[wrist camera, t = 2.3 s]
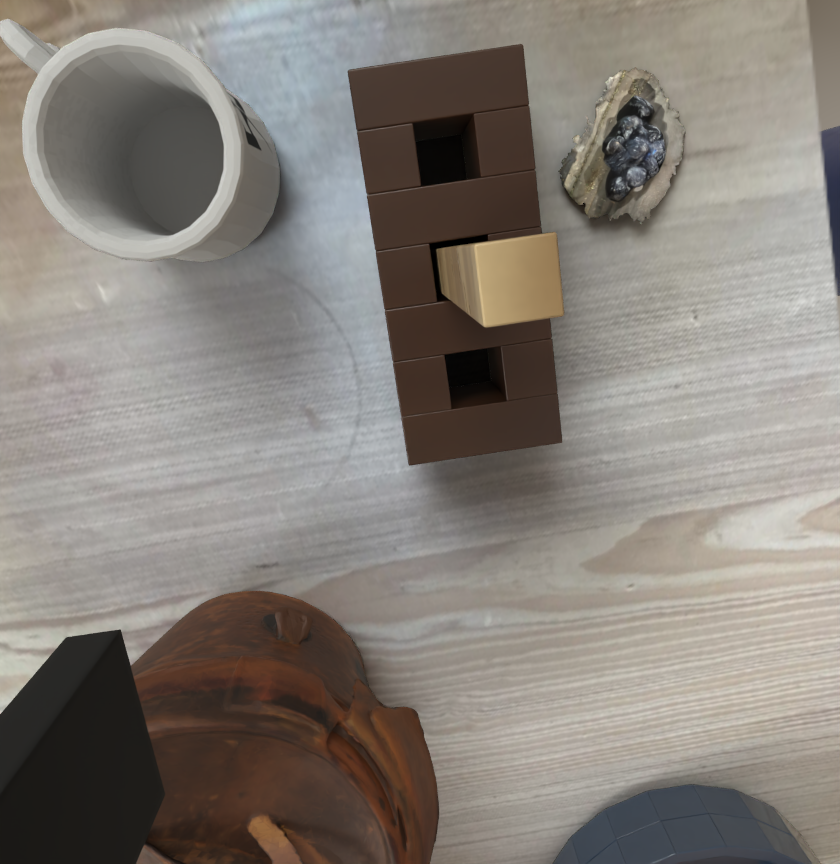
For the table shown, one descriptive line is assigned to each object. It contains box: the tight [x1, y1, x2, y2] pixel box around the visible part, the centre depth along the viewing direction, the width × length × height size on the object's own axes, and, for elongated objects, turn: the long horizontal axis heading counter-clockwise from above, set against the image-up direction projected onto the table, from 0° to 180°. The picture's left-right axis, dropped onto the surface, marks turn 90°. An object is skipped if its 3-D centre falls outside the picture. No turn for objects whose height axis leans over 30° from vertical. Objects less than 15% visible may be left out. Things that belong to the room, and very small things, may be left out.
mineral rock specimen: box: [558, 67, 686, 224], centre depth 38 cm, size 7×8×2 cm
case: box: [131, 591, 439, 864], centre depth 37 cm, size 18×20×18 cm
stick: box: [430, 232, 564, 328], centre depth 29 cm, size 2×2×22 cm
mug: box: [0, 19, 280, 262], centre depth 33 cm, size 12×9×10 cm
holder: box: [348, 44, 562, 465], centre depth 37 cm, size 19×8×6 cm, turn 8°
